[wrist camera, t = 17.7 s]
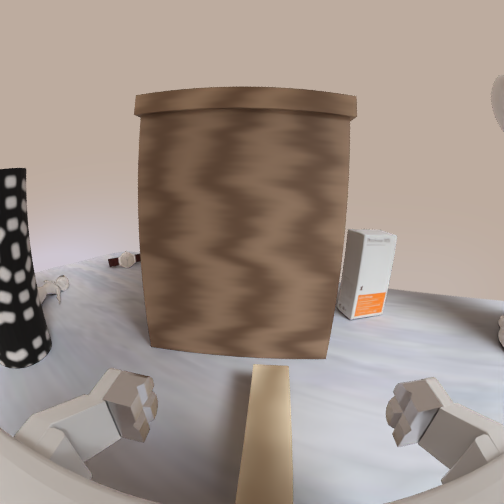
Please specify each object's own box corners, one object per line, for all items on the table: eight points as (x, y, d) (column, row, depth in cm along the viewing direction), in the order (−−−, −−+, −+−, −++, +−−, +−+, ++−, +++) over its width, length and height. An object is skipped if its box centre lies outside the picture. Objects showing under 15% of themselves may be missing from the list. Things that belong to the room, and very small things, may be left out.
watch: (112, 272, 51) (110, 254, 50) (106, 266, 55) (105, 250, 54) (145, 266, 56) (144, 249, 56) (138, 260, 60) (137, 245, 59)
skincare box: (350, 321, 36) (363, 234, 33) (336, 308, 40) (346, 228, 37) (383, 315, 37) (398, 235, 34) (368, 304, 41) (380, 229, 38)
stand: (309, 295, 44) (319, 129, 38) (330, 361, 27) (356, 96, 20) (186, 288, 45) (187, 126, 39) (145, 348, 28) (136, 95, 21)
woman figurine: (-24, 293, 24) (45, 266, 42) (-17, 321, 25) (48, 289, 43) (13, 306, 24) (88, 272, 41) (21, 339, 24) (91, 296, 42)
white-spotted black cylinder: (-14, 354, 19) (-48, 182, 14) (26, 326, 27) (4, 175, 22) (21, 377, 18) (-22, 171, 13) (63, 341, 26) (40, 166, 21)
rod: (285, 390, 23) (288, 365, 22) (282, 603, 4) (291, 604, 3) (252, 388, 23) (253, 364, 23) (222, 600, 4) (219, 601, 3)
